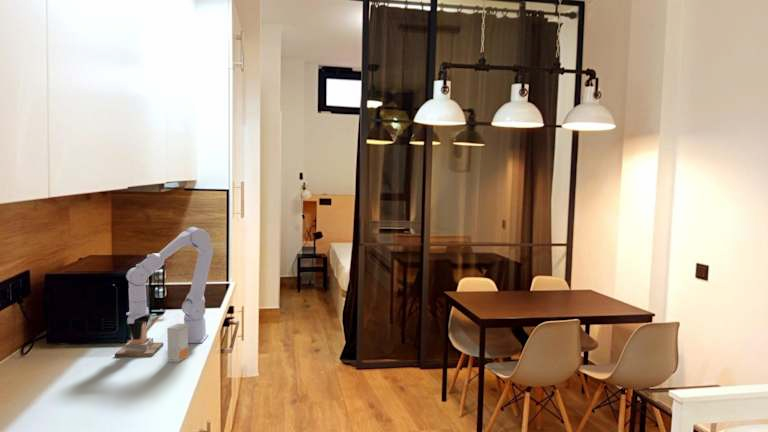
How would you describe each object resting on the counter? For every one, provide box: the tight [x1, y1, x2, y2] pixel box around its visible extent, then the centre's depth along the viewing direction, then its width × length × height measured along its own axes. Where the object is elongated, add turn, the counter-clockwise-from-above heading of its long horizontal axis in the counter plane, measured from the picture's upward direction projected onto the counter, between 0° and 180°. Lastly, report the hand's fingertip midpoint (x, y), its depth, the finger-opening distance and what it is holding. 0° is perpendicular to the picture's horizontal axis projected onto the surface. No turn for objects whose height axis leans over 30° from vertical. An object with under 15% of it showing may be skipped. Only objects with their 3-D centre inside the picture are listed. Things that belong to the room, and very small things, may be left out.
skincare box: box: [166, 322, 189, 363], centre depth 180 cm, size 6×4×12 cm
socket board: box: [114, 337, 164, 358], centre depth 188 cm, size 11×13×4 cm
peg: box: [130, 322, 148, 344], centre depth 188 cm, size 4×4×8 cm
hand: (139, 337), depth 188 cm, fingers closed on peg, 4 cm apart
